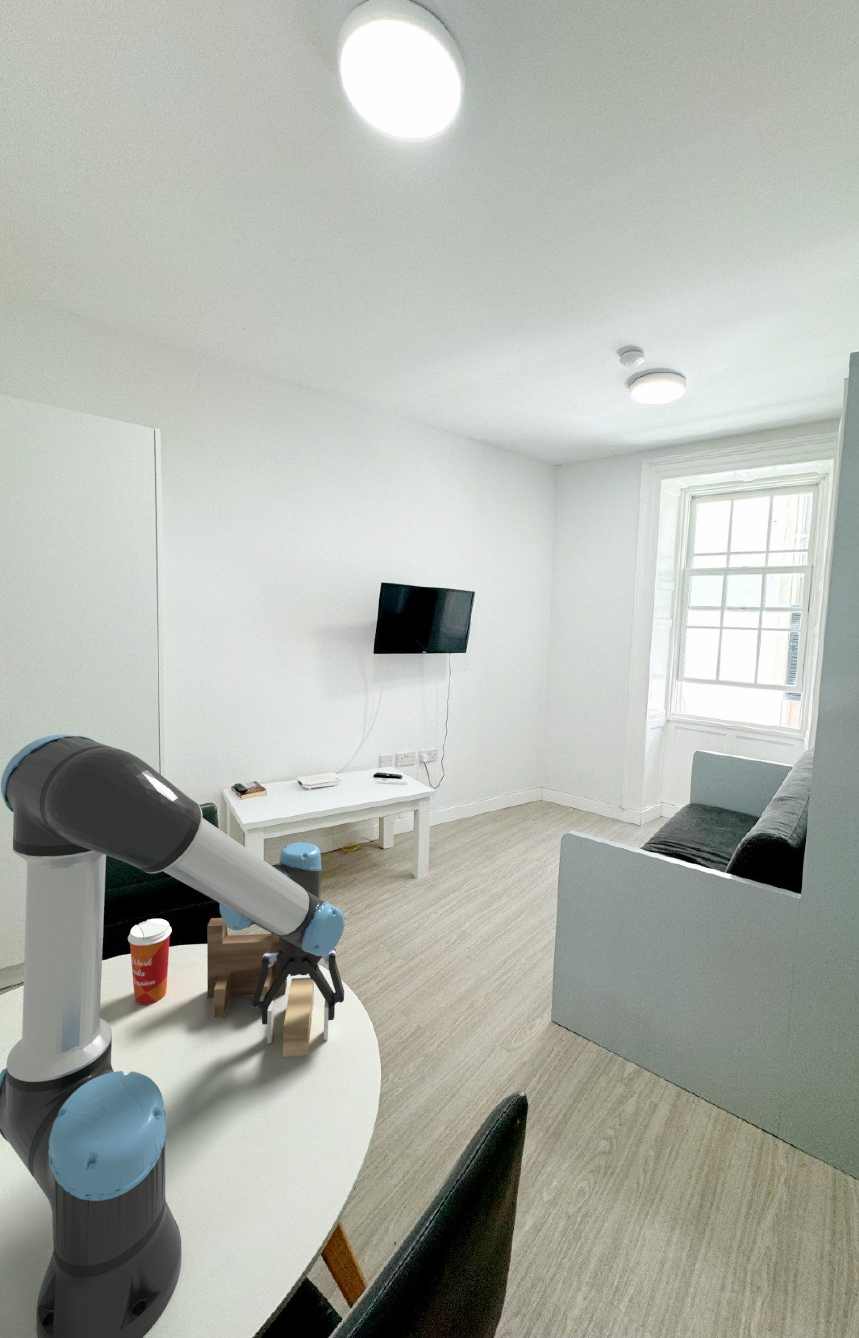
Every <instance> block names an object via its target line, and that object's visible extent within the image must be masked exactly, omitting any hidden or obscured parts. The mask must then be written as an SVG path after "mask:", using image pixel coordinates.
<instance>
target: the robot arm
mask: <svg viewBox="0 0 859 1338" xmlns="http://www.w3.org/2000/svg"><path fill="white" fill-rule="evenodd" d="M0 792H1V796H2V798H3V802H4V804H5V806H6V808H7V809H8V810H9V811H10V812H12V814H13V823H12V825H13V829H12V833H13V834H12V851H13V853H14V854H16V855H17V856H18V857H19V858H22V859H23V860H24V861H26V863H27V864H26V868H27V869H26V892H25V894H26V895H25V896H26V897H25V899H26V900H25V927H24V928H25V929H24V930H25V931H24V932H25V933H24V963H23V990H22V991H23V994H22V1022H21V1023H22V1027H21V1029H22V1030H21V1039H20V1040H19V1041H17V1042H16V1043H15V1044H14V1046H13V1047H12V1048H11V1049H10V1051H9V1053H8V1054H7V1055H8V1056H7V1058H6V1065H5V1066H6V1067H5V1068H3V1069H1V1071H0V1135H1V1137H2V1138H3V1139H4V1140H5V1141H6V1142H8V1143H9V1144H10V1146H11V1148H12V1149H13V1150H14V1152H15V1154H16V1155H17V1156H18V1158H19V1159H20V1160H21V1162H22V1163H23V1165H24V1166H25V1168H26V1169H27V1170H28V1172H29V1173H30V1175H31V1176H32V1177H33V1178H34V1180H35V1182H36V1183H37V1184H38V1186H39V1188H40V1189H41V1190H42V1191H41V1192H43V1194H44V1195H45V1197H46V1198H47V1200H48V1203H49V1206H50V1208H51V1209H50V1210H51V1214H52V1215H51V1217H52V1218H51V1219H52V1220H51V1221H52V1238H53V1239H52V1247H53V1248H52V1249H53V1250H52V1255H51V1256H50V1260H49V1262H48V1266H47V1268H46V1270H45V1271H46V1272H45V1275H44V1277H43V1280H42V1283H41V1285H40V1289H39V1291H38V1292H39V1293H38V1298H37V1304H36V1311H35V1313H36V1314H35V1315H36V1316H35V1317H36V1318H35V1319H36V1320H35V1321H36V1337H37V1338H140V1337H141V1336H142V1335H143V1334H144V1333H145V1334H146V1333H147V1332H148V1331H149V1330H148V1329H151V1328H152V1326H153V1325H154V1324H155V1322H156V1321H158V1319H159V1317H160V1316H161V1315H162V1313H163V1312H164V1310H165V1308H167V1305H168V1304H169V1302H170V1300H171V1298H172V1296H173V1295H174V1292H175V1289H176V1287H177V1285H178V1281H179V1278H180V1274H181V1270H182V1269H181V1268H182V1237H181V1236H182V1235H181V1233H180V1232H181V1231H180V1227H179V1226H178V1223H177V1221H176V1219H175V1217H174V1216H173V1212H172V1211H171V1208H170V1206H169V1205H168V1203H167V1200H166V1137H167V1127H168V1126H167V1114H166V1109H165V1104H164V1103H165V1102H164V1098H163V1095H162V1092H161V1090H160V1088H159V1086H158V1085H157V1084H156V1082H155V1081H154V1080H153V1079H152V1078H150V1077H148V1076H147V1075H145V1074H143V1073H140V1072H136V1071H130V1072H129V1073H128V1074H124V1071H123V1070H117V1071H114V1069H113V1066H112V1050H113V1049H112V1046H113V1044H112V1041H113V1040H112V1039H113V1030H112V1027H111V1025H110V1023H109V1022H107V1020H105V1019H103V1018H101V1017H100V1015H101V997H102V996H101V994H102V993H101V991H102V972H103V971H102V969H103V967H102V966H103V943H104V942H103V940H104V939H103V938H104V917H105V916H104V914H105V909H104V908H105V893H106V892H105V890H106V866H107V865H106V861H107V856H108V857H109V858H110V857H111V858H113V859H115V860H119V861H121V862H124V863H127V864H128V865H131V866H133V867H135V868H137V869H139V870H140V871H143V872H144V873H147V874H158V873H161V872H163V873H165V874H167V875H169V876H170V877H172V878H174V879H176V880H177V881H180V882H182V883H183V884H185V885H187V886H189V887H191V888H192V889H194V890H195V891H198V892H199V893H202V894H203V895H205V896H207V897H209V898H210V899H212V900H214V901H215V902H217V903H219V913H220V916H221V918H223V920H224V922H225V924H226V926H227V927H228V928H229V929H231V930H233V931H242V930H244V929H247V928H248V929H249V928H251V926H253V925H256V926H258V927H259V928H261V929H264V930H265V931H266V932H269V933H270V934H271V933H273V934H275V935H277V936H279V950H278V952H277V953H270V952H269V951H265V952H264V954H263V958H262V971H261V974H260V978H259V981H258V984H257V987H256V990H255V994H254V996H252V997H253V998H252V1002H251V1007H252V1008H258V1007H260V1008H261V1009H262V1015H261V1023H262V1025H266V1027H267V1029H266V1030H267V1032H266V1034H267V1036H266V1038H267V1039H266V1042H267V1043H266V1044H272V1041H273V1037H274V1036H273V1035H274V1015H275V1014H274V1012H275V1011H274V1009H275V1008H274V1005H275V1004H274V1001H273V1000H274V998H275V997H276V996H277V995H278V994H277V992H278V990H279V989H280V987H281V985H282V984H283V982H284V981H285V980H286V978H287V979H288V976H289V975H290V977H295V976H298V975H299V976H307V975H308V977H310V978H311V979H312V980H313V981H314V985H316V987H317V988H318V991H319V992H320V994H321V996H322V997H323V998H324V1004H323V1005H324V1007H323V1040H324V1041H325V1040H329V1021H333V1020H334V1019H335V1015H336V1014H335V1011H336V1010H335V1009H336V1008H335V1006H336V1004H337V1003H339V1004H341V1003H343V1002H344V1000H345V989H344V985H343V982H342V979H341V975H340V971H339V967H338V965H337V961H336V955H337V950H336V947H337V946H338V944H339V942H340V940H341V939H342V938H341V937H342V936H343V934H344V930H345V925H346V924H345V916H344V913H343V911H342V910H341V909H340V908H338V907H337V906H335V905H333V904H332V903H331V902H329V901H324V900H322V899H321V890H322V889H321V888H322V887H321V886H322V885H321V884H322V869H323V868H322V856H321V851H320V850H321V849H320V848H319V846H317V845H316V844H314V843H310V842H303V841H301V842H294V843H289V844H287V845H285V846H284V847H283V848H282V849H281V850H280V853H279V854H280V857H279V863H276V864H275V865H273V866H272V865H271V864H270V863H268V862H266V861H265V860H264V859H263V858H261V857H260V856H258V855H257V854H256V853H254V852H253V851H251V850H249V849H248V848H247V847H245V846H244V845H242V844H241V843H240V842H238V841H237V840H235V839H234V838H232V837H231V836H229V835H228V834H226V832H224V831H222V830H221V829H219V828H218V827H216V826H215V825H214V824H212V823H211V822H209V821H208V820H207V819H205V818H204V817H203V816H204V815H203V814H204V813H203V810H202V808H201V806H200V804H199V803H197V802H196V801H195V800H193V799H192V798H190V797H189V796H188V795H186V794H185V793H184V792H182V791H181V790H180V789H179V788H178V787H176V786H175V785H174V784H173V783H171V781H169V780H168V779H167V778H166V777H164V776H163V775H162V774H161V773H160V772H158V771H157V770H156V769H154V768H153V767H152V766H150V765H149V764H148V763H147V762H146V761H145V760H143V759H141V758H140V757H138V756H137V755H134V754H132V753H131V752H129V751H126V750H123V749H121V748H117V747H113V746H109V745H106V744H104V743H100V742H97V741H95V740H94V739H91V738H89V737H86V736H83V735H71V734H53V735H47V736H44V737H41V738H39V739H36V740H34V741H31V742H30V743H28V744H26V745H25V746H23V748H21V749H20V750H19V751H17V752H16V753H15V754H14V755H13V756H12V758H11V759H10V760H9V761H8V763H7V765H6V766H5V768H4V770H3V773H2V775H1V780H0ZM322 959H323V960H324V962H325V963H324V964H326V965H328V971H329V972H328V973H329V975H330V978H331V982H332V985H333V989H334V990H333V989H332V987H331V986H330V983H329V982H328V981H327V979H326V977H325V975H324V974H323V972H322V971H321V969H320V965H319V964H318V963H319V962H320V961H321V960H322ZM276 960H277V961H278V963H279V964H280V965H281V966H282V967H281V970H280V972H279V973H278V975H277V977H276V978H275V980H274V982H273V983H272V985H271V986H270V988H269V990H268V991H267V993H266V995H264V997H263V996H261V994H262V991H263V988H264V984H265V981H266V978H267V975H268V971H269V967H271V966H273V963H274V961H276ZM276 994H277V995H276ZM147 1330H148V1331H147ZM146 1331H147V1332H146ZM145 1334H144V1335H145ZM144 1335H143V1336H144ZM143 1336H142V1337H143ZM142 1337H141V1338H142Z"/></svg>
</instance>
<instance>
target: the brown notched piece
mask: <svg viewBox="0 0 859 1338" xmlns="http://www.w3.org/2000/svg"><path fill="white" fill-rule="evenodd" d="M226 926H227V925H226V924H225V922H224V920H223V918H222V917H216V918H215V917H212V918H210V920H209V922H208V924H207V929H206V930H207V933H206V935H207V944H206V945H207V947H206V949H207V950H206V951H207V954H206V955H207V974H206V975H207V999H213V1018H225V1016H226V1013H227V1009H228V1008H229V1004H230V1001H231V998H237V997H254V994H255V990H256V987H257V984H258V981H259V978H260V974H261V971H262V958H263V954H264V952H265V951H269V952H270V953H277V952H278V950H279V936H277V935H275V934H273V933H271V932H270V933H259V934H257V933H256V934H234V935H233V934H232V935H229V934H228V935H227V934H226ZM281 967H282V966H281V965H280V964H279V963H278V961H277V960H276V961H274V963H273V966H271V967H269V971H268V975H267V978H266V981H265V984H264V988H263V991H262V994H261V996H263V997H264V995H266V993H267V991H268V990H269V988H270V986H271V985H272V983H273V982H274V980H275V978H276V977H277V975H278V973H279V972H280V970H281ZM287 986H288V977H287V978H286V980H285V981H284V982H283V984H282V985H281V987H280V989H279V990H278V992H277V994H276V995H275V996H277V995H285V994H286V990H287ZM257 1016H262V1009H261V1008H260V1007H257Z"/></svg>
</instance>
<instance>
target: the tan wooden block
mask: <svg viewBox="0 0 859 1338" xmlns="http://www.w3.org/2000/svg"><path fill="white" fill-rule="evenodd" d="M314 987H315V982H314V981H313V980H312V979H311V978H310V976H308V977H293V978H291V982H290V987H289V993H288V998H287V1004H286V1011H285V1017H284V1021H283V1030H282V1031H283V1037H282V1038H283V1039H282V1041H283V1043H282V1051H283V1052H282V1053H283V1054H282V1056H283V1057H296V1056H308V1055H309V1050H310V1049H309V1048H310V1047H309V1046H310V1040H311V1039H310V1038H311V1031H312V1030H311V1029H312V1028H311V1027H312V1021H313V1013H314V1012H313V1011H314V997H315V996H314V994H315V993H314V991H315V990H314ZM312 1012H313V1013H312ZM308 1049H309V1050H308Z"/></svg>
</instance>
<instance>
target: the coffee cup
mask: <svg viewBox="0 0 859 1338" xmlns="http://www.w3.org/2000/svg"><path fill="white" fill-rule="evenodd" d="M172 931H173V930H172V926H170V923H169V921H167V920H165V919H163V918H151V919H149V918H148V919H147V920H145V921H142V922H140V923H138V924H135V925H134V926H133V927H131V929H130V932H129V935H128V936H127V940H128V943H129V945H130V946H129V947H130V958H131V961H130V962H131V969H132V970H131V972H132V985H133V994H134V1000H135V1001H134V1002H135V1003H137V1004H140V1005H151V1004H154V1003H156V1002H157V1003H158V1001H161V1000H162V999H163V998H164V997H165V995H166V993H167V986H168V973H169V972H168V971H169V957H170V956H169V953H170V939H171V938H170V937H171V936H170V935H171V933H172Z"/></svg>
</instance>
